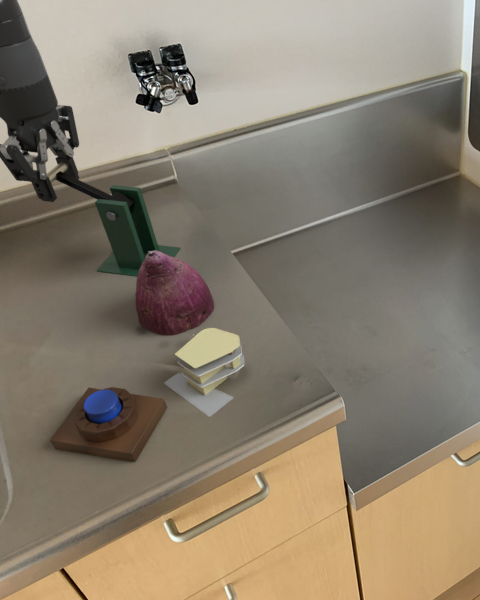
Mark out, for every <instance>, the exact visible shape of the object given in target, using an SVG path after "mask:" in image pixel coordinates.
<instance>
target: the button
mask: <svg viewBox="0 0 480 600" xmlns="http://www.w3.org/2000/svg"><path fill="white" fill-rule="evenodd" d="M84 409H85V411H86V413H87V415H88V417H89V419H90V420H91V421H92V422H94V423H106V422H109V421H111V420H112V419H114V418H115V417H117V416H118V415H119V413H120V411H121V403H120V401H119V399H118V396H117V394H116V393H115V392H114V391H111V390H100V391H97V392H95V393H93V394H91V395H90V396H89V397H88V398H87V399H86V401H85V403H84Z"/></svg>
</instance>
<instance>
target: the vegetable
mask: <svg viewBox="0 0 480 600" xmlns="http://www.w3.org/2000/svg"><path fill="white" fill-rule="evenodd" d="M134 294H135V295H134V296H135V301H134V302H135V309H136V314H137V319H138V323H139V325H140V326H141V327H143V328H144V329H146V330H147V331H149V332H152V333H154V334H157V335H160V336H176V335H177V336H178V335H180V334H183V333H186V332H187V331H189V330H193V329H196V328H198V327H200V326H202V324H203V323H204V322H206V320H207V319H209V317H210V316H211V315H212V314H213V313H214V310H215V302H214V297H213V295H212V293H211V290H210V288H209V286H208V283H207V282H206V281H205V279H204V278H203V277H202V275H201V274H200V273H199V272H198V271H197V270H196V269H195V268H194V267H193V266H191V265H190V264H189V263H187V262H186V261H184V260H181V259H180V258H177V257H176V256H175V257H171V256H169V255H166V254H164V253H162V252H160V251H156V250H155V251H148V254H147V255H146V257H145V260H144V262H143V263H142V265H141V267H140V269H139V272H138V276H137V277H136V282H135V293H134Z"/></svg>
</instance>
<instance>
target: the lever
mask: <svg viewBox="0 0 480 600" xmlns="http://www.w3.org/2000/svg"><path fill="white" fill-rule="evenodd" d="M68 169H69V166H68V164H67V163H65V162H60V163H59V164H56V165H55V166H54V167H53V168H52V169H50V170H49V171H48V172H46V173H47V177H49V179H50V181H51V184H53V183H54V182H55V181H57V182H59V183H61V184H63V185H66V186H68V187H70V188H72V189H74V190H76V191H78V192H80V193H82V194H85V195H86V196H89V197H91V198H93V199H95V200H96V201H97V200H98V199H103V200H112V201H122V202H127V204H128V208H129V211H130V214H131V213H132V212H133V210H134V204H135V200H134V199H132V198H130V197H128V196H126V195H124V194H122V193H120V192H116V193H115V194H114V195H113V196H112V194H110V193H107V192H105V191H103V190H101V189H99V188H97V187H95V186H93V185H91V184H89V183H86V182H84V181H82V180H80V179H76V178H74V177H71V176H69V175H67V174H65V173H64V172H65V171H67V170H68Z"/></svg>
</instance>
